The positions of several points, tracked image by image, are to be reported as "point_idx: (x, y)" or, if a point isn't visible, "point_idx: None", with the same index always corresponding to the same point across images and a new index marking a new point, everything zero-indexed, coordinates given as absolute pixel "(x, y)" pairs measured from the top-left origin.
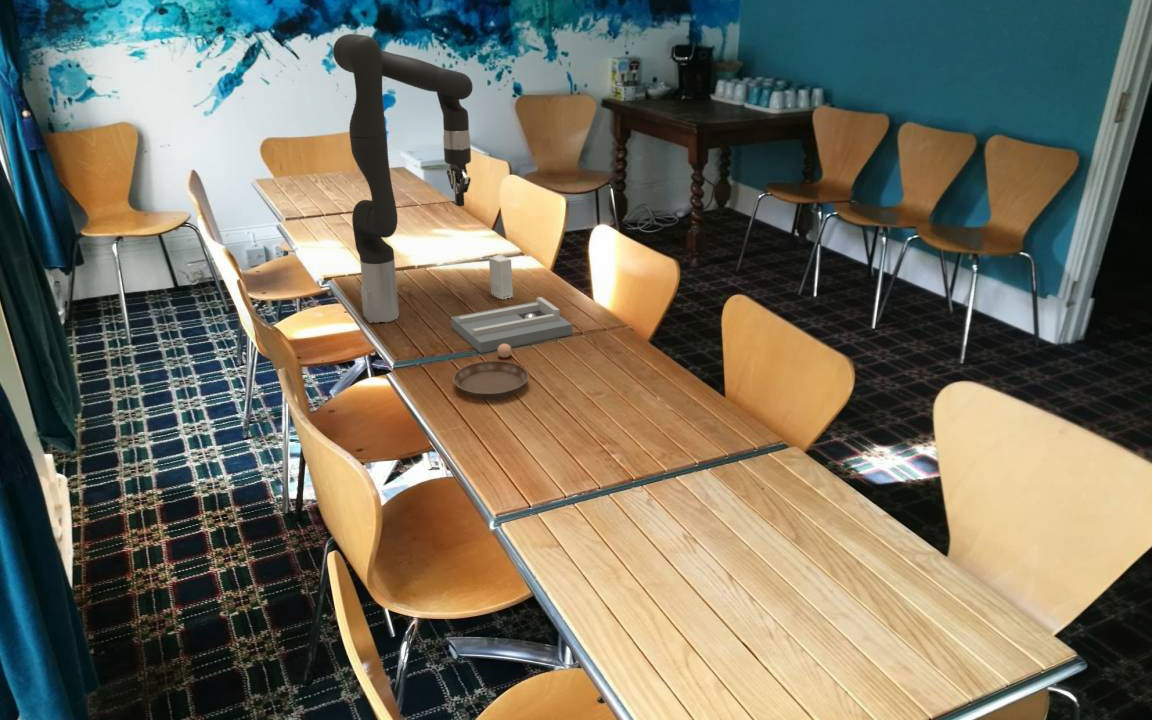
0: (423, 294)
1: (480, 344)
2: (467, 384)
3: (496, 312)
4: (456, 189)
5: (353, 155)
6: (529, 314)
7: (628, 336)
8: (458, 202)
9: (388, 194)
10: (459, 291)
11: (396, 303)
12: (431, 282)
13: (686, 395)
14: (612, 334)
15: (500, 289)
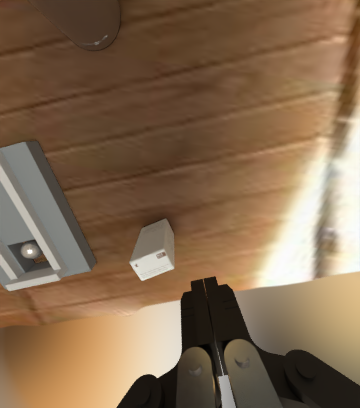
0: (195, 114)
1: None
2: None
3: (20, 213)
4: (192, 393)
5: None
6: (23, 252)
7: (14, 323)
8: (191, 300)
9: None
10: (194, 176)
11: (63, 31)
12: (251, 136)
13: None
14: (19, 312)
15: (140, 234)
